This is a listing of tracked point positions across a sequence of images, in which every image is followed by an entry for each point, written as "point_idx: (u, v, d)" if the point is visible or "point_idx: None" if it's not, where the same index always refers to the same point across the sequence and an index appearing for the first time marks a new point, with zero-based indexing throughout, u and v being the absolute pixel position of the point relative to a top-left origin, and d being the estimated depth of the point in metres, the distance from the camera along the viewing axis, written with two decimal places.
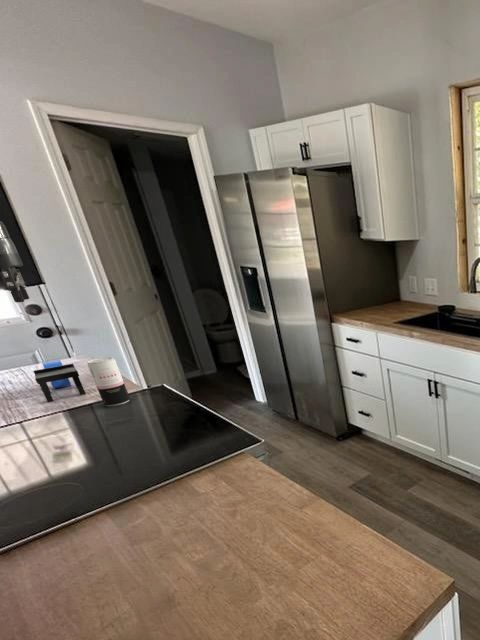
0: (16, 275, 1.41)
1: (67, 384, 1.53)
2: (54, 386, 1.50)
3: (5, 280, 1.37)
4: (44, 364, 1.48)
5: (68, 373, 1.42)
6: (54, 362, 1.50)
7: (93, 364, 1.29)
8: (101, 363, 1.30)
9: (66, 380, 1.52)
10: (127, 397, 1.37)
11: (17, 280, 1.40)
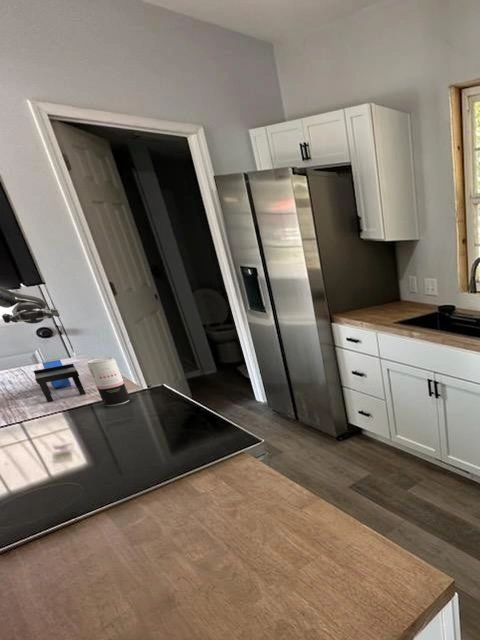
0: None
1: (67, 384, 1.53)
2: (54, 386, 1.50)
3: None
4: (44, 364, 1.49)
5: (68, 373, 1.42)
6: (54, 362, 1.51)
7: (93, 364, 1.29)
8: (101, 363, 1.30)
9: (66, 380, 1.52)
10: (127, 397, 1.37)
11: None
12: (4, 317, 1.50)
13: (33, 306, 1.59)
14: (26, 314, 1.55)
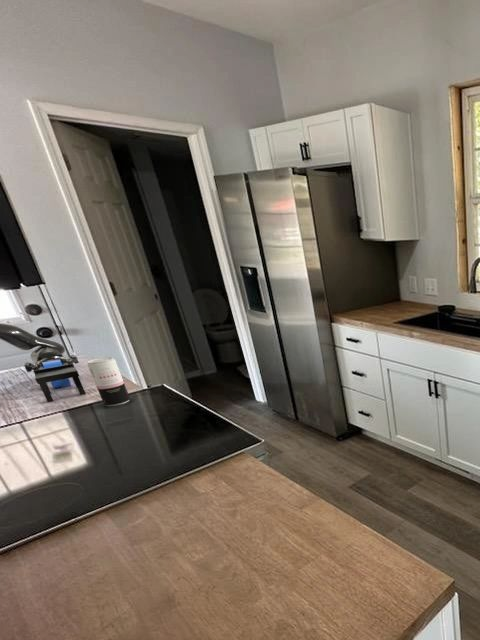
0: None
1: (67, 383, 1.53)
2: (54, 385, 1.50)
3: (76, 357, 1.67)
4: (43, 363, 1.49)
5: (68, 373, 1.42)
6: (54, 361, 1.51)
7: (93, 364, 1.29)
8: (101, 363, 1.30)
9: (65, 379, 1.52)
10: (127, 397, 1.37)
11: None
12: (26, 367, 1.56)
13: (53, 353, 1.65)
14: None
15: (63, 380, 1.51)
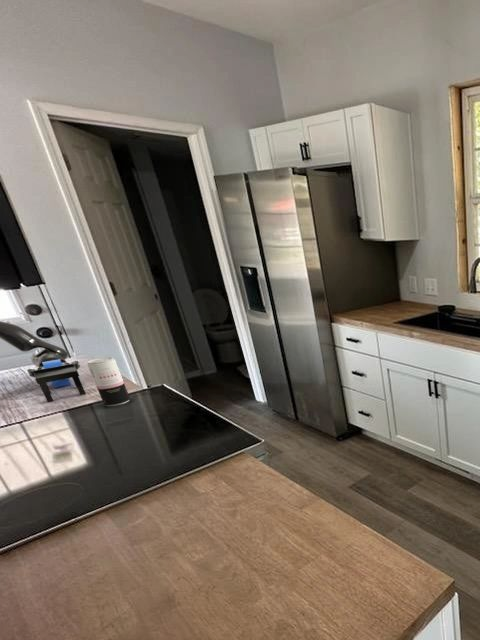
0: None
1: (66, 382, 1.53)
2: (53, 383, 1.50)
3: (76, 363, 1.59)
4: (43, 362, 1.50)
5: (68, 373, 1.42)
6: (53, 360, 1.52)
7: (93, 364, 1.29)
8: (101, 363, 1.30)
9: None
10: (127, 397, 1.37)
11: None
12: None
13: (56, 359, 1.58)
14: None
15: None
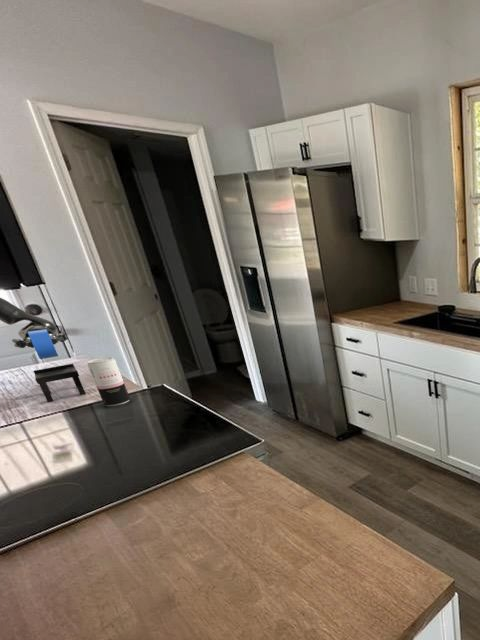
0: None
1: (53, 353, 1.47)
2: (39, 354, 1.44)
3: (64, 335, 1.53)
4: (28, 332, 1.44)
5: (68, 373, 1.42)
6: (39, 330, 1.45)
7: (93, 364, 1.29)
8: (101, 363, 1.30)
9: (51, 347, 1.45)
10: (127, 397, 1.37)
11: None
12: (21, 342, 1.43)
13: None
14: None
15: (49, 349, 1.45)
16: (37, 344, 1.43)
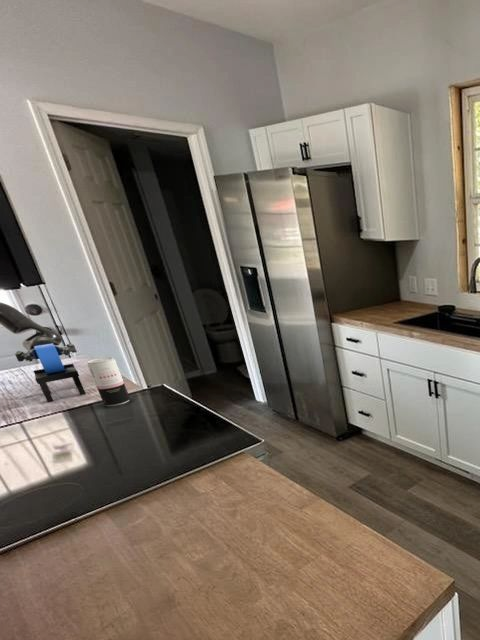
0: None
1: (60, 368, 1.43)
2: (46, 369, 1.40)
3: None
4: (35, 346, 1.39)
5: (68, 373, 1.42)
6: (46, 344, 1.41)
7: (93, 364, 1.29)
8: (101, 363, 1.30)
9: (58, 362, 1.42)
10: (127, 397, 1.37)
11: None
12: (18, 356, 1.38)
13: (48, 342, 1.48)
14: None
15: (56, 364, 1.41)
16: (44, 360, 1.39)
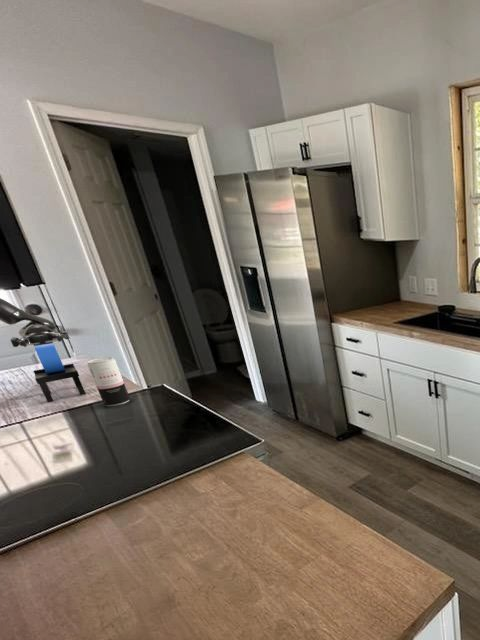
0: None
1: (59, 367, 1.43)
2: (45, 368, 1.40)
3: None
4: (35, 346, 1.40)
5: (68, 373, 1.42)
6: (46, 344, 1.42)
7: (93, 364, 1.29)
8: (101, 363, 1.30)
9: (58, 361, 1.42)
10: (127, 397, 1.37)
11: None
12: (13, 341, 1.45)
13: (42, 329, 1.54)
14: (35, 337, 1.50)
15: (55, 362, 1.41)
16: (43, 358, 1.39)
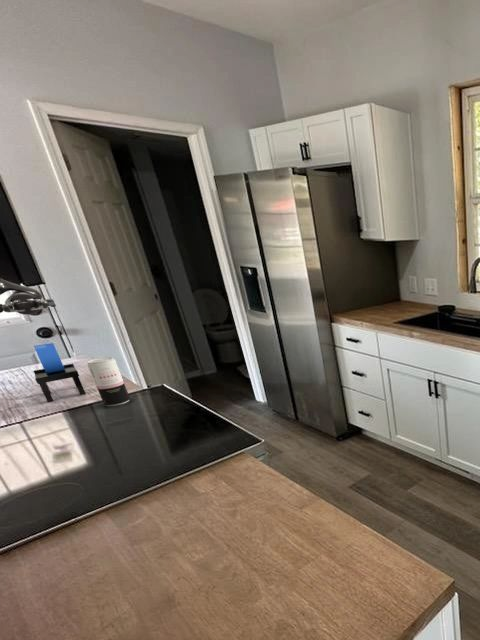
0: None
1: (59, 366, 1.43)
2: (45, 368, 1.40)
3: None
4: None
5: (68, 373, 1.42)
6: (46, 344, 1.42)
7: (93, 364, 1.29)
8: (101, 363, 1.30)
9: (58, 360, 1.42)
10: (127, 397, 1.37)
11: None
12: None
13: (27, 296, 1.50)
14: (20, 304, 1.46)
15: (55, 362, 1.41)
16: (43, 357, 1.39)
